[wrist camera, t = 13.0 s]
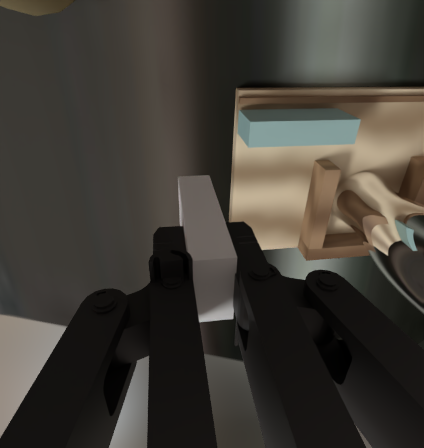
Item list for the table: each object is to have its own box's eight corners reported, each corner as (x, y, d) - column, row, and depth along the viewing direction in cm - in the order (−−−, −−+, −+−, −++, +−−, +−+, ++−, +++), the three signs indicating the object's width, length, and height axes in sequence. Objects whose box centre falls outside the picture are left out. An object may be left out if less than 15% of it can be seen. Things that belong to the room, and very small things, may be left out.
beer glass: (313, 210, 35) (403, 316, 22) (358, 155, 32) (488, 241, 20) (357, 233, 38) (460, 339, 25) (401, 184, 35) (541, 276, 22)
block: (238, 109, 28) (250, 121, 24) (336, 108, 29) (360, 119, 26) (237, 133, 29) (248, 147, 25) (332, 130, 30) (354, 144, 27)
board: (236, 88, 28) (246, 96, 25) (495, 86, 32) (532, 93, 29) (227, 246, 37) (234, 266, 34) (430, 230, 41) (452, 248, 38)
